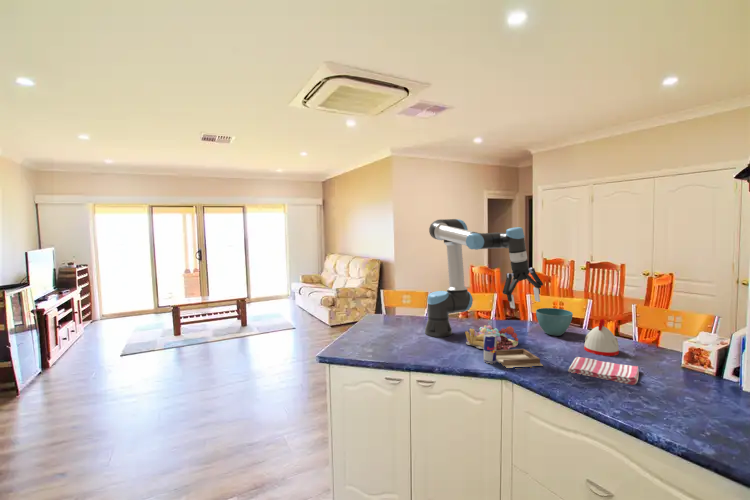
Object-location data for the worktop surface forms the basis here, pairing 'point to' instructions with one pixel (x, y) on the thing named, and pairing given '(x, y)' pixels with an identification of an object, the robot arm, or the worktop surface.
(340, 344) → the worktop surface
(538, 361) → the brown flat tray
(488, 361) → the energy drink
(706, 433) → the worktop surface
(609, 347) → the white red-trimmed dome
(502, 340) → the food platter
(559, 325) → the teal bowl
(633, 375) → the dish towel
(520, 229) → the robot arm
